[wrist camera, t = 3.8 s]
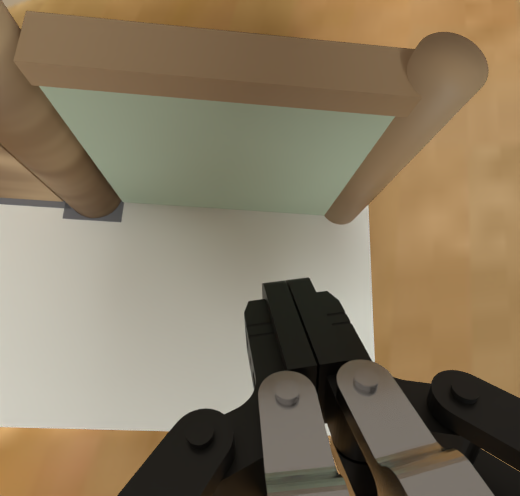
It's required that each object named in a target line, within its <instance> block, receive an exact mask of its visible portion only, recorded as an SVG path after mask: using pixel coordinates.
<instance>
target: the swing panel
mask: <svg viewBox="0 0 520 496" xmlns="http://www.w3.org/2000/svg"><path fill="white" fill-rule="evenodd" d="M13 61H14V62H15V64H16V65H17V66H18V68H19V69H20V70H21V72H22V73H23V75H24V76H25V77H26V79H27V80H28V81H29V83H30V84H31V85H34V86H39V87H40V88H41V90H42V91H43V93H44V94H45V95H46V97H47V98H48V99H49V101H50V102H51V104H52V105H53V106H54V108H55V109H56V111H57V112H58V113H59V115H60V116H61V117H62V119H63V120H64V122H65V123H66V124H67V126H68V127H69V128H70V130H71V131H72V133H73V134H74V135H75V137H76V138H77V140H78V141H79V142H80V144H81V145H82V146H83V148H84V149H85V151H86V152H87V153H88V155H89V156H90V157H91V159H92V160H93V162H94V163H95V164H96V166H97V167H98V169H99V170H100V171H101V173H102V174H103V175H104V177H105V178H106V180H107V181H108V182H109V184H110V185H111V186H112V188H113V189H114V191H115V192H116V193H117V195H118V196H119V198H120V199H121V200H122V202H127V203H142V204H158V205H173V206H188V207H203V208H218V209H233V210H248V211H263V212H278V213H294V214H309V215H324V216H325V217H326V218H327V219H328V220H329V221H330V222H332V223H335V224H339V225H343V224H348V223H350V222H351V221H353V220H354V219H355V218H356V217H357V216H358V215H359V214H360V212H361V211H362V210H363V209H364V208H365V207H366V206H367V205H368V204H369V203H370V202H371V201H372V200H373V199H374V198H375V197H376V196H377V195H378V194H379V193H380V192H381V191H382V190H383V189H384V188H385V187H386V186H387V185H388V184H389V183H390V182H391V181H392V179H393V178H394V177H395V176H396V175H397V174H398V173H399V172H400V171H401V170H402V169H403V168H404V167H405V166H406V165H407V164H408V163H409V162H410V161H411V160H412V159H413V158H414V157H415V156H416V155H417V154H418V153H419V152H420V151H421V150H422V149H423V147H424V146H425V145H426V144H427V143H428V142H429V141H430V140H431V139H432V138H433V137H434V136H435V135H436V134H437V133H438V132H439V131H440V130H441V129H442V128H443V127H444V126H445V125H446V124H447V123H448V122H449V121H450V120H451V119H452V118H453V117H454V115H455V114H456V113H457V112H458V111H459V110H460V109H461V108H462V107H463V106H464V105H465V104H466V103H467V102H468V101H469V100H470V99H471V98H472V97H473V96H474V95H475V94H476V93H477V92H478V91H479V90H480V89H481V88H482V86H483V85H484V84H485V82H486V80H487V77H488V64H487V61H486V58H485V56H484V54H483V53H482V51H481V50H480V49H479V48H478V47H477V46H476V45H475V44H474V43H473V42H472V41H470V40H469V39H467V38H465V37H463V36H461V35H458V34H455V33H450V32H438V33H433V34H430V35H428V36H426V37H425V38H424V39H422V40H421V41H420V43H419V44H418V46H417V47H416V49H407V48H397V47H387V46H377V45H366V44H356V43H346V42H336V41H326V40H316V39H306V38H296V37H285V36H275V35H265V34H255V33H245V32H235V31H225V30H215V29H204V28H194V27H184V26H174V25H164V24H154V23H144V22H134V21H123V20H113V19H103V18H93V17H83V16H73V15H63V14H53V13H42V12H32V11H26V14H25V17H24V21H23V25H22V29H21V33H20V37H19V41H18V44H17V48H16V52H15V56H14V60H13Z"/></svg>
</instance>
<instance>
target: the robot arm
mask: <svg viewBox="0 0 520 496" xmlns="http://www.w3.org/2000/svg"><path fill="white" fill-rule="evenodd" d="M244 320H245V333H246V346H247V353H248V359H249V365H250V370H251V376H252V382H253V388H254V391H253V393H252V395H251V397H250V398H249V399H248V400H247V401H246V402H245V403H244V404H243V405H241V406H240V407H238V408H236V409H234V410H232V411H230V412H228V413H226V414H223V413H221V412H220V411H217V410H214V409H207V408H204V409H198V410H194V411H192V412H189V413H188V414H186V415H184V416H183V417H182V418H181V419H180V420H179V421H178V422H177V423H176V424H175V425H174V426H173V428H172V429H171V430H170V431H169V433H168V434H167V435H166V436H165V437H164V439H163V440H162V441H161V442H160V444H159V445H158V446H157V447H156V449H155V450H154V451H153V452H152V454H151V455H150V456H149V457H148V458H147V460H146V461H145V462H144V463H143V465H142V466H141V467H140V468H139V470H138V471H137V472H136V473H135V475H134V476H133V477H132V478H131V479H130V481H129V482H128V483H127V484H126V486H125V487H124V488H123V489H122V491H121V492H120V493H119V494H118V496H520V472H519V471H520V398H518V397H516V396H514V395H512V394H510V393H508V392H506V391H504V390H502V389H500V388H498V387H496V386H494V385H492V384H489V383H487V382H485V381H483V380H481V379H479V378H477V377H475V376H473V375H471V374H468V373H465V372H462V371H456V370H447V371H443V372H440V373H438V374H437V375H436V376H435V377H434V378H433V380H432V383H431V384H430V383H422V382H414V381H406V380H401V379H397V378H394V377H392V375H391V374H390V373H389V372H388V371H387V370H386V369H385V368H384V367H382V366H381V365H379V364H377V363H375V362H373V361H372V360H371V358H370V356H369V354H368V352H367V351H366V349H365V347H364V345H363V343H362V341H361V340H360V338H359V336H358V334H357V332H356V330H355V329H354V327H353V325H352V324H351V323H350V320H349V318H348V316H347V314H345V310H344V309H343V307H342V305H341V303H340V301H339V300H338V299H337V298H336V297H334V296H333V295H332V294H331V293H329V292H328V291H322V292H316V290H315V288H314V286H313V284H312V282H311V280H310V278H309V277H307V278H299V279H291V280H286V281H285V280H284V281H276V282H268V283H262V299H260V300H253V301H248V304H247V306H246V309H245V311H244ZM325 424H327V425H328V428H329V431H330V434H331V442H330V444H329V440H328V436H327V432H326V428H325ZM481 448H482V449H484V450H485V451H487V452H489V453H490V454H492V455H494V456H495V457H497V458H499V459H500V460H502V461H504V462H505V463H504V462H502V461H500V460H499V459H497V458H495V457H494V456H492V455H490V454H489V453H487V452H485V451H484V450H482V449H481ZM332 455H333V456H332ZM333 458H334V460H335V463H336V465H337V468H338V470H339V472H340V475H339V474H338V472H337V470H336V467H335V464H334V460H333ZM506 463H507V464H509V465H511V466H512V467H514V468H516V469H517V470H519V471H517V470H516V469H514V468H512V467H511V466H509V465H507V464H506Z"/></svg>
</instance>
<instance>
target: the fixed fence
mask: <svg viewBox="0 0 520 496" xmlns="http://www.w3.org/2000/svg"><path fill="white" fill-rule="evenodd" d="M20 33H21V29H20V28H19V26H18V25H17V23H16V22H15V20H14V19H13V17H12V16H11V14H10V13H9V11H8V10H7V8H6V6H5V5H4V3H3V2H2V0H0V198H13V199H28V200H44V201H59V202H63V201H65V202H66V203H67V204H68V205H69V206H71V207H72V208H73V209H74V210H75V211H76V212H77V213H79V214H80V215H82V216H84V217H88V218H100V217H104V216H107V215H109V214H110V213H112V212H113V211H114V210H115V209H116V208H117V207H118V206H119V204H120V202H121V199H120V198H119V196H118V195H117V193H116V192H115V191H114V189H113V188H112V186H111V185H110V184H109V182H108V181H107V180H106V178H105V177H104V175H103V174H102V173H101V171H100V170H99V169H98V167H97V166H96V164H95V163H94V162H93V160H92V159H91V157H90V156H89V155H88V153H87V152H86V151H85V149H84V148H83V146H82V145H81V144H80V142H79V141H78V140H77V138H76V137H75V135H74V134H73V133H72V131H71V130H70V128H69V127H68V126H67V124H66V123H65V122H64V120H63V119H62V117H61V116H60V115H59V113H58V112H57V111H56V109H55V108H54V106H53V105H52V104H51V102H50V101H49V99H48V98H47V97H46V95H45V94H44V93H43V91H42V90H41V88H40V87H39V86H34V85H31V84H30V83H29V81H28V80H27V79H26V77H25V76H24V75H23V73H22V72H21V70H20V69H19V68H18V66H17V65H16V64H15V62H14V61H13V60H14V56H15V52H16V48H17V44H18V41H19V37H20Z"/></svg>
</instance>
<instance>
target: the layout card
mask: <svg viewBox="0 0 520 496" xmlns="http://www.w3.org/2000/svg"><path fill="white" fill-rule="evenodd" d="M307 277H309V278H310V280H311V282H312V284H313V286H314V288H315V290H316V292H322V291H328V292H329V293H331V294H332V295H333V296H334V297H336V298H337V299H338V300H339V301H340V303H341V305H342V307H343V309H344V310H345V314H347V316H348V318H349V320H350V323H351V324H352V325H353V327H354V329H355V330H356V332H357V334H358V336H359V338H360V340H361V341H362V343H363V345H364V347H365V349H366V351H367V352H368V354H369V356H370V358H371V360H372V361H373V362H375V356H374V331H373V307H372V282H371V258H370V233H369V208H368V205H367V206H366V207H365V208H364V209H363V210H362V211H361V212H360V214H359V215H358V216H357V217H356V218H355V219H354V220H353V221H351V222H350V223H348V224H343V225H339V224H335V223H332V222H330V221H329V220H328V219H327V218H326V217H325V216H324V215H309V214H294V213H278V212H263V211H248V210H233V209H218V208H203V207H188V206H173V205H158V204H142V203H127V202H122V200H121V202H120V204H119V206H118V207H117V208H116V209H115V210H114V211H113V212H112V213H110V214H109V215H107V216H104V217H100V218H88V217H84V216H82V215H80V214H79V213H77V212H76V211H75V210H74V209H73V208H72V207H71V206H69V205H68V204H67V203H66V202H65V201H63V202H59V201H44V200H28V199H13V198H0V427H22V428H62V429H101V430H140V431H170V430H171V429H172V428H173V426H174V425H175V424H176V423H177V422H178V421H179V420H180V419H181V418H182V417H183V416H184V415H186V414H188V413H189V412H192V411H194V410H198V409H204V408H207V409H214V410H217V411H220V412H221V413H223V414H226V413H228V412H230V411H232V410H234V409H236V408H238V407H240V406H241V405H243V404H244V403H245V402H246V401H247V400H248V399H249V398H250V397H251V395H252V393H253V391H254V388H253V382H252V376H251V370H250V365H249V359H248V353H247V346H246V333H245V320H244V311H245V309H246V306H247V304H248V301H253V300H260V299H262V283H268V282H276V281H284V280H285V281H286V280H291V279H299V278H307ZM325 428H326V432H327V435H331V434H330V431H329V428H328V425H327V424H325Z"/></svg>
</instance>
